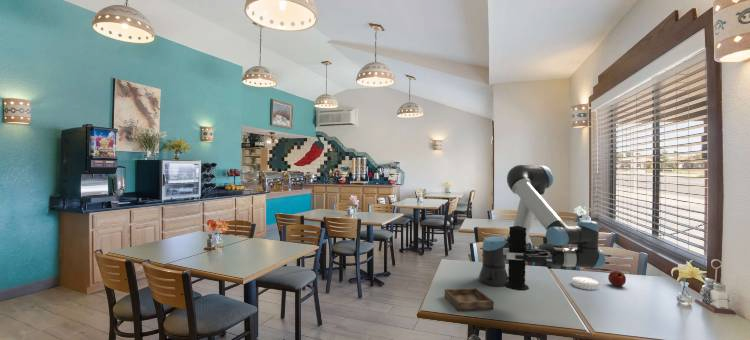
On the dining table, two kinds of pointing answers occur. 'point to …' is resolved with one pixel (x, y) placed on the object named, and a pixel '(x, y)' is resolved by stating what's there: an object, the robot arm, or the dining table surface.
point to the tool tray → (468, 299)
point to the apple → (617, 278)
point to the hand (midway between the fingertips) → (505, 253)
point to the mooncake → (585, 283)
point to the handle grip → (517, 266)
